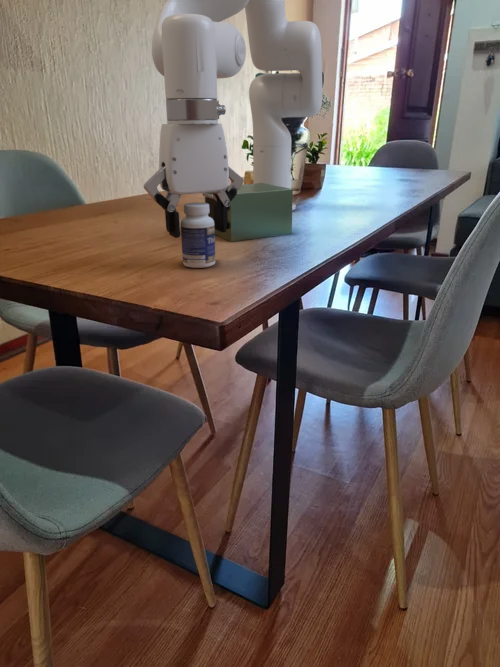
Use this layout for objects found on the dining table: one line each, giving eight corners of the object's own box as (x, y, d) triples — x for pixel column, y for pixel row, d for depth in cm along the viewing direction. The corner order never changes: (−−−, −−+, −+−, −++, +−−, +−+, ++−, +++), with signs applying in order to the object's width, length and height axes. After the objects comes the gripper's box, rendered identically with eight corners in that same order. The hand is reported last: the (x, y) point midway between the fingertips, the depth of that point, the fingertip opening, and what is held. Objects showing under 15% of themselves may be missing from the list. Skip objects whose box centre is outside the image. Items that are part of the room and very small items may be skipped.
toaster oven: (200, 231, 108) (198, 187, 104) (262, 224, 115) (262, 182, 111) (225, 242, 98) (224, 194, 95) (291, 234, 105) (292, 189, 101)
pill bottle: (214, 268, 81) (212, 206, 77) (181, 269, 81) (177, 207, 77) (216, 260, 86) (214, 201, 82) (184, 260, 86) (181, 201, 82)
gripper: (233, 113, 82) (235, 224, 89) (126, 114, 74) (138, 235, 81) (256, 113, 76) (256, 231, 82) (143, 113, 68) (153, 244, 75)
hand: (197, 232), depth 82 cm, fingers open, 7 cm apart
